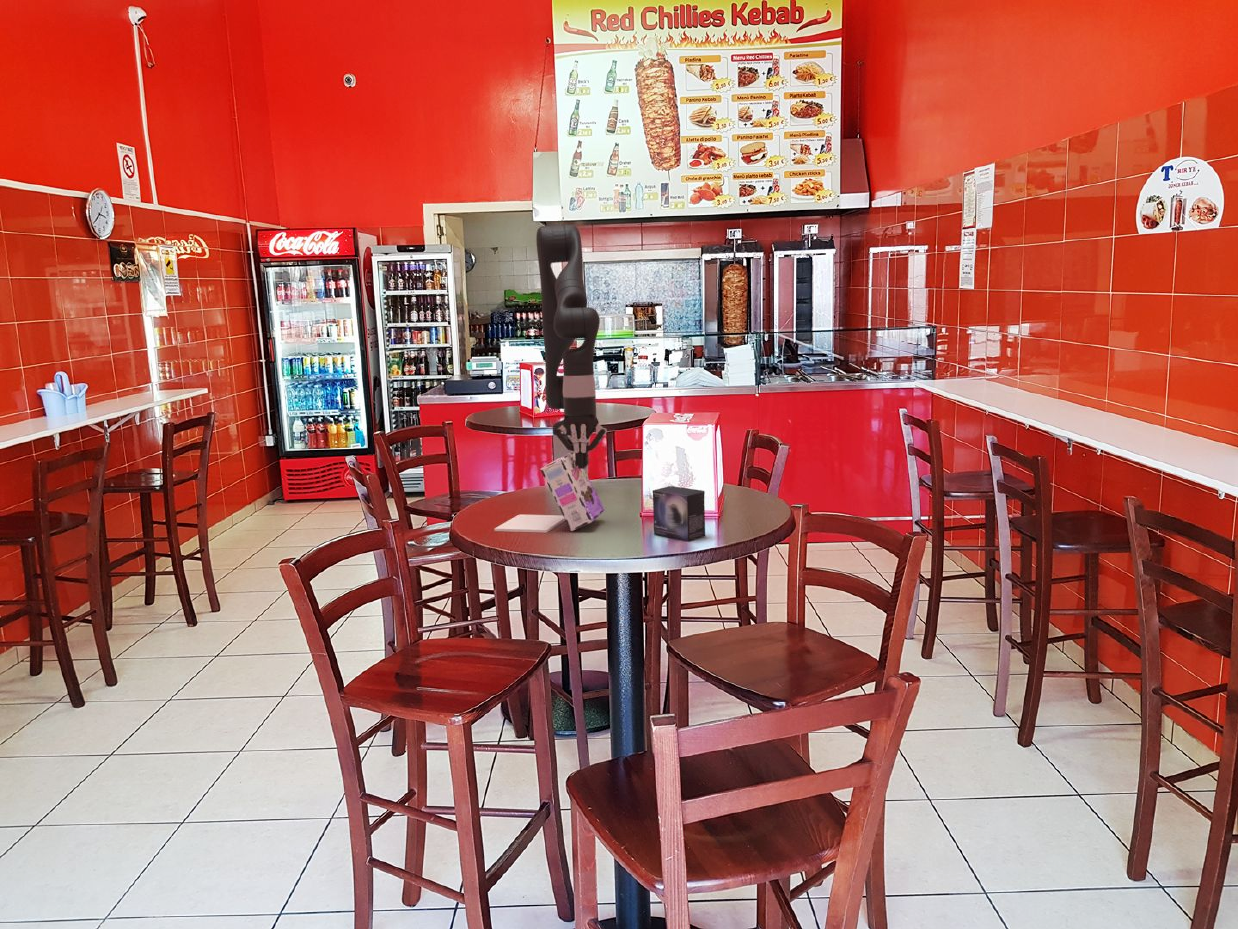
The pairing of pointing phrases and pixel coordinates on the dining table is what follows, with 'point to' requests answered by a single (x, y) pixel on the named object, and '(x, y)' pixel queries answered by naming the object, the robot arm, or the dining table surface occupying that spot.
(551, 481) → the candy box
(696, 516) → the small box
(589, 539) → the dining table surface
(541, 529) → the mat
